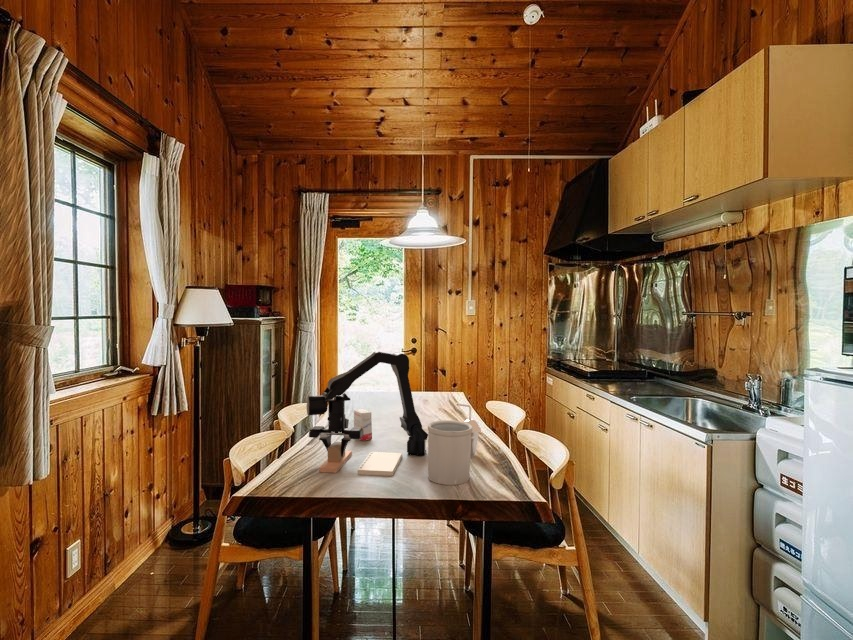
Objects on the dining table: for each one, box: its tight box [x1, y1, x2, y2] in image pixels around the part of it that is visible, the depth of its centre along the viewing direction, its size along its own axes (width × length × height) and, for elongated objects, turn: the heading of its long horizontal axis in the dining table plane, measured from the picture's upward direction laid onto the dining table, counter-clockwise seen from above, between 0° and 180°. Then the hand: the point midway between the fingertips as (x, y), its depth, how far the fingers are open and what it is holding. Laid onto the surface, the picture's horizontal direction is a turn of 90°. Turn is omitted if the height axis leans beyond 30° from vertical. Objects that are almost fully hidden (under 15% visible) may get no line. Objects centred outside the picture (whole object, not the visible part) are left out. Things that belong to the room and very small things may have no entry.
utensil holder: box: [427, 419, 472, 486], centre depth 155 cm, size 15×15×18 cm
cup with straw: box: [456, 403, 482, 458], centre depth 179 cm, size 8×9×20 cm
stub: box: [318, 441, 353, 474], centre depth 168 cm, size 6×20×6 cm, turn 174°
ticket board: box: [357, 451, 403, 477], centre depth 167 cm, size 12×20×2 cm, turn 174°
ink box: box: [353, 408, 373, 441], centre depth 201 cm, size 9×5×12 cm, turn 33°
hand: (336, 456), depth 168 cm, fingers closed on stub, 4 cm apart
